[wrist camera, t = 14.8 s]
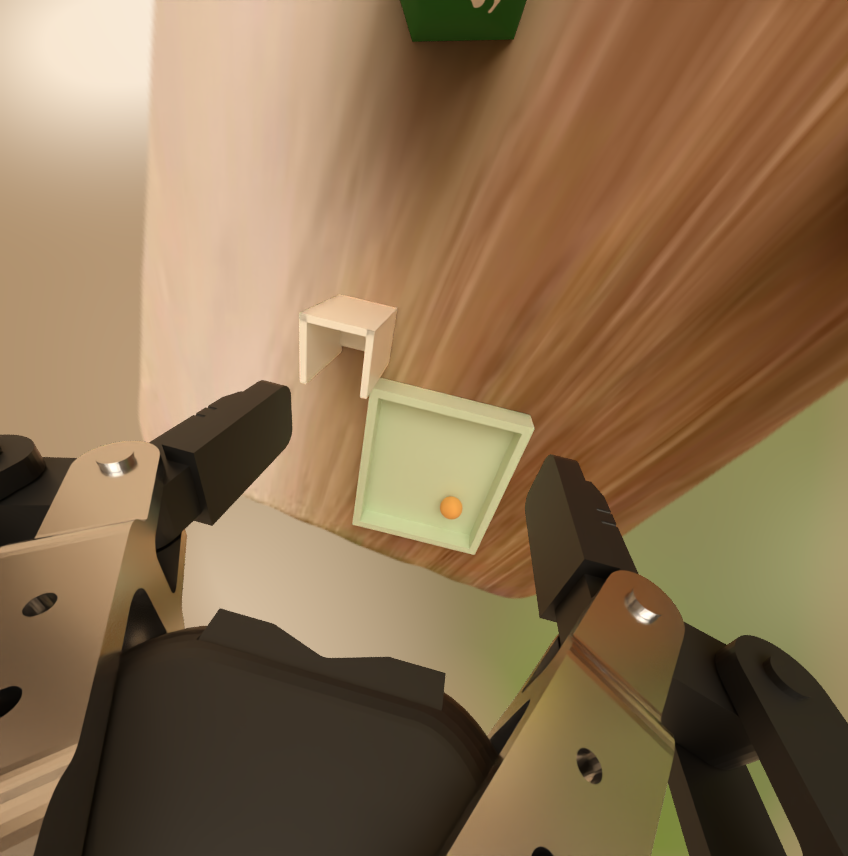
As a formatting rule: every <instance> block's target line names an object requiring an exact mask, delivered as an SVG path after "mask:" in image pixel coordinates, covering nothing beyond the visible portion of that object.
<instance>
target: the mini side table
mask: <svg viewBox="0 0 848 856" xmlns="http://www.w3.org/2000/svg"><path fill="white" fill-rule="evenodd" d="M397 309H398V308H395V307H391V306H387V305H383V304H379V303H375V302H370V301H366V300H362V299H358V298H354V297H350V296H346V295H342V294H339V295H337V296H335V297H332V298H330V299H328V300H326V301H324V302H321V303H319V304H317V305H315V306H313V307H311V308H308V309H306V310H304V311H302V312H300V313H299V358H300V383H304V384H307V383H308V382H309V381H310V380H311V379H313V378H314V377H315V376H316V375H317V374H318V373H319V372H320V371H321V370H322V369H324V368H325V367H326V366H327V365H328V364H329V363H330V362H331V361H332V360H333V359H335V358H336V357H337V356H338V355H339V354H340V353H341V352H342V346H345V347H349V348H353V349H357V350H361V351H365V354H364V363H363V372H362V382H361V391H360V397H361V398H365V399H367V397H368V396H369V394H370V393H371V391H372V389H373V388H374V386H375V385H376V383H377V382H378V380H379V378H380V377H381V375H382V374H383V372H384V371H385V369H386V367H387V366H388V364H389V361H390V354H391V348H392V341H393V335H394V328H395V322H396V315H397Z"/></svg>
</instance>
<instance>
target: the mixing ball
mask: <svg viewBox="0 0 848 856" xmlns="http://www.w3.org/2000/svg"><path fill="white" fill-rule="evenodd" d="M462 509H463V508H462V503H461V501H460V500H459V499H458V498H456V497H453V496H449V497H446V498H445V499H443V500H442V502H441V504H440V511H441V513H442V515H443V516H444V517H445V518H447V519H456V518H458V517H459V516H460V515H461V513H462Z"/></svg>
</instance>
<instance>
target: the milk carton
mask: <svg viewBox="0 0 848 856" xmlns="http://www.w3.org/2000/svg"><path fill="white" fill-rule="evenodd" d="M526 1H527V0H400V2H401V5H402V8H403V12H404V15H405V18H406V22H407V25H408V28H409V32H410V35H411V39H412V42H421V41H464V40H507V39H514V37H515V34H516V31H517V27H518V24H519V22H520V19H521V16H522V13H523V10H524V7H525V4H526Z"/></svg>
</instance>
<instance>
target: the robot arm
mask: <svg viewBox="0 0 848 856" xmlns="http://www.w3.org/2000/svg"><path fill="white" fill-rule="evenodd" d="M291 435H292V410H291V392H290V389H289V388H288V387H287V386H284V385H280V384H276V383H272V382H268V381H264V380H261V381H259V382H257V383H256V384H254V385H253V386H251V387H249V388H248V389H246V390H245V391H243V392H242V391H241V392H237V393H234V394H231V395H228V396H225V397H222V398H220V399H219V400H217V401H215V402H214V403H212V404H211V405H209V406H208V408H204V409H203V410H201V411H199V412H198V413H196V416H194V415H193V416H191V417H190V418H188V419H186V420H185V421H183V422H182V423H180V424H178V425H177V426H175V427H173V428H172V429H170V430H169V431H167V432H165V433H164V434H162V435H161V436H159V437H157V438H156V439H154V440H152V441H151V442H149V443H148V442H143V441H121V442H115V443H110V444H106V445H103V446H100V447H97V448H94V449H92V450H90V451H88V452H86V453H84V454H83V455H81V456H80V457H78V458H50V457H42V456H41V454H40V453H39V451H38V449H37V448H36V446H35V444H34V443H33V441H32V440H31V439H29V438H27V437H23V436H19V435H0V856H651V853H652V848H653V844H654V839H655V835H656V831H657V826H658V822H659V818H660V813H661V809H662V805H663V800H664V796H665V792H666V787H667V783H668V784H669V788H670V791H671V794H672V798H673V801H674V805H675V808H676V811H677V815H678V818H679V822H680V825H681V829H682V832H683V836H684V839H685V842H686V846H687V849H688V852H689V856H787V855H786V853H785V851H784V849H783V846H782V844H781V842H780V840H779V837H778V835H777V833H776V831H775V829H774V826H773V824H772V822H771V820H770V818H769V815H768V813H767V811H766V809H765V806H764V804H763V802H762V800H761V797H760V795H759V793H758V791H757V789H756V786H755V784H754V782H753V780H752V777H751V775H750V773H749V771H748V768H747V766H746V764H749V763H751V762H754V761H757V760H760V762H761V764H762V766H763V768H764V770H765V772H766V774H767V776H768V778H769V780H770V782H771V784H772V787H773V788H774V791H775V793H776V795H777V797H778V799H779V801H780V803H781V805H782V807H783V809H784V812H785V814H786V816H787V818H788V820H789V822H790V824H791V826H792V828H793V830H794V832H795V835H796V837H797V839H798V841H799V844H800V847H801V849H802V853H803V856H848V723H847V722H846V720H845V719H844V717H843V716H842V715H841V713H840V712H839V710H838V709H837V707H836V706H835V704H834V703H833V702H832V700H831V699H830V697H829V696H828V694H827V693H826V692H825V690H824V689H823V688H822V686H821V685H820V684H819V683H818V682H817V681H816V679H815V678H814V677H813V676H812V675H811V674H810V673H809V672H808V671H807V670H806V669H805V668H804V667H803V666H802V665H800V664H799V663H798V662H797V661H796V660H795V659H793V658H792V657H791V656H790V655H788V654H787V653H785V652H784V651H783V650H781V649H780V648H778V647H776V646H775V645H773V644H772V643H770V642H768V641H766V640H763V639H761V638H758V637H755V636H751V635H743V636H740V637H738V638H737V639H735V640H734V641H732V642H731V643H729V644H728V645H726V644H724V643H722V642H720V641H718V640H717V639H715V638H713V637H711V636H709V635H707V634H705V633H704V632H702V631H700V630H698V629H696V628H695V627H692V626H691V625H689V624H687V623H685V622H684V621H683V619H682V616H681V614H680V612H679V610H678V609H677V607H676V605H675V604H674V603H673V602H672V600H671V599H670V598H669V597H668V596H667V595H666V593H664V592H663V591H662V590H661V589H660V588H659V587H658V586H656V585H655V584H654V583H652V582H651V581H649V580H648V579H646V578H645V577H643V576H641V575H639V574H638V572H637V570H636V568H635V565H634V563H633V561H632V558H631V556H630V554H629V552H628V549H627V547H626V545H625V543H624V541H623V538H622V536H621V534H620V531H619V529H618V527H616V522H615V520H614V518H613V516H612V514H610V512H611V511H610V509H609V507H608V504H607V502H606V500H605V498H604V496H603V495H602V494H601V493H600V492H599V490H598V489H597V488H596V487H595V486H594V485H593V484H592V482H589V481H585V478H584V476H583V473H582V471H581V468H580V466H579V463H578V462H577V461H575V460H571V459H567V458H563V457H559V456H555V455H551V454H550V455H548V456H547V458H546V459H545V461H544V463H543V465H542V467H541V469H540V471H539V472H538V474H537V476H536V478H535V480H534V482H533V484H532V486H531V488H530V490H529V492H528V495H527V498H526V504H525V514H526V522H527V529H528V536H529V544H530V551H531V558H532V565H533V573H534V580H535V587H536V595H537V601H538V609H539V616H540V618H543V619H546V620H550V621H553V622H557V626H558V631H559V634H558V635H557V637H556V638H555V639H554V640H553V641H552V643H551V644H550V646H549V647H548V649H547V650H546V652H545V654H544V655H543V656H542V658H541V660H540V661H539V662H538V664H537V666H536V667H535V669H534V670H533V672H532V673H531V675H530V676H529V678H528V679H527V681H526V682H525V684H524V685H523V687H522V688H521V690H520V691H519V693H518V694H517V696H516V697H515V699H514V700H513V701H512V703H511V704H510V705H509V707H508V708H507V709H506V711H505V712H504V713H503V714H502V716H501V717H500V718H499V720H498V721H497V723H496V724H495V725H494V727H493V728H492V730H491V731H490V732H489V734H488V735H487V736H486V734H485V733H484V731H483V730H482V728H481V727H480V726H479V724H478V723H477V722H476V721H475V720H474V719H473V717H472V716H471V715H470V714H469V713H468V712H467V711H466V710H465V709H464V708H463V707H462V706H461V705H460V704H458V703H457V702H456V701H455V700H454V699H453V698H452V697H450V696H449V695H447V694H445V693H444V683H445V673H443V672H440V671H436V670H432V669H429V668H426V667H422V666H419V665H415V664H412V663H408V662H405V661H401V660H398V659H394V658H391V657H362V658H325V657H322V656H320V655H318V654H317V653H316V652H314V651H313V650H311V649H310V648H308V647H307V646H305V645H304V644H302V643H301V642H300V641H298V640H297V639H295V638H294V637H292V636H291V635H289V634H288V633H286V632H285V631H284V630H282V629H281V628H279V627H277V626H276V625H274V624H272V623H269V622H265V621H262V620H258V619H255V618H251V617H248V616H244V615H241V614H237V613H234V612H230V611H227V610H224V609H219V610H218V612H217V613H216V615H215V616H214V618H213V619H212V620H211V622H210V623H209V624H208V626H199V627H192V628H186V629H185V627H184V619H183V613H182V590H183V579H184V566H185V553H186V539H187V534H186V531H185V528H186V527H187V526H188V525H189V524H190V523H191V522H193V521H197V522H201V523H204V524H208V525H211V526H212V525H213V524H214V523H215V522H216V521H217V520H218V519H219V518H220V517H221V516H222V515H223V514H224V513H225V512H226V511H227V510H228V508H229V507H230V506H231V505H232V504H233V503H234V502H235V501H236V500H237V499H238V498H239V497H240V496H241V495H242V494H243V493H244V492H245V490H246V489H247V488H248V487H249V486H250V485H251V484H252V483H253V482H254V481H255V480H256V479H257V478H258V477H259V476H260V474H261V473H262V472H263V471H264V470H265V469H266V468H267V467H268V466H269V465H270V464H271V463H272V462H273V461H274V460H275V459H276V457H277V456H278V455H279V454H280V453H281V452H282V451H283V450H284V449H285V448H286V446H287V445H288V443H289V441H290V438H291Z"/></svg>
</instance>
